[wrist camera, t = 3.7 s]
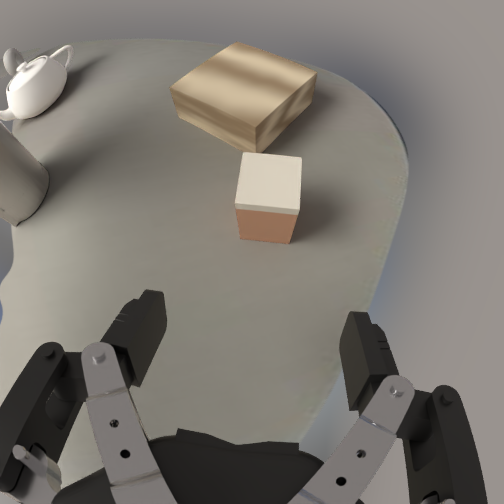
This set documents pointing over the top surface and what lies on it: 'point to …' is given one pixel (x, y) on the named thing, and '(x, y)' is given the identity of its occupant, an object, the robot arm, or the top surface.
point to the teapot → (36, 86)
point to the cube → (268, 197)
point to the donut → (12, 61)
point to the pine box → (244, 96)
